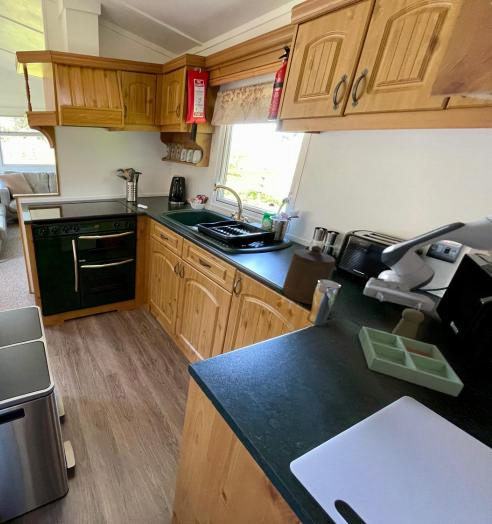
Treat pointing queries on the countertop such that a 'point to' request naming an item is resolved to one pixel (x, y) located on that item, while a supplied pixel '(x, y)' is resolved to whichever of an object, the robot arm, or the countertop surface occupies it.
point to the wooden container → (306, 273)
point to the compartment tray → (409, 361)
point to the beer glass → (323, 301)
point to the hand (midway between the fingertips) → (400, 304)
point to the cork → (409, 324)
